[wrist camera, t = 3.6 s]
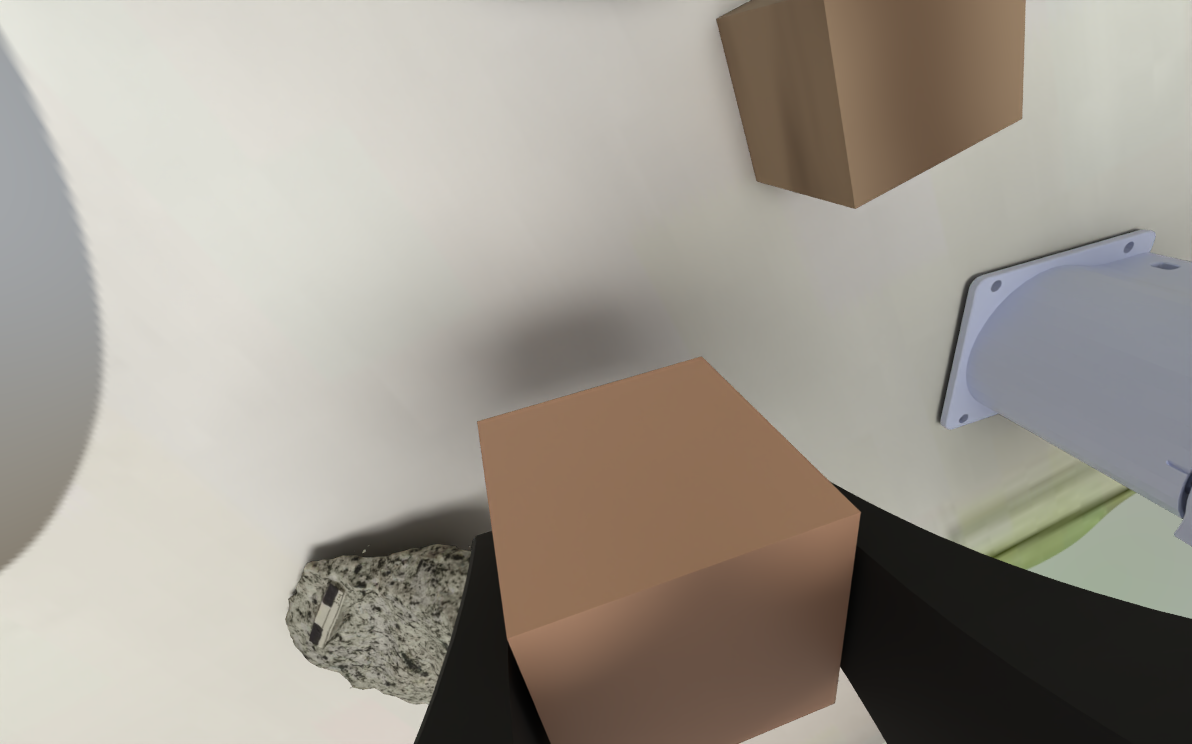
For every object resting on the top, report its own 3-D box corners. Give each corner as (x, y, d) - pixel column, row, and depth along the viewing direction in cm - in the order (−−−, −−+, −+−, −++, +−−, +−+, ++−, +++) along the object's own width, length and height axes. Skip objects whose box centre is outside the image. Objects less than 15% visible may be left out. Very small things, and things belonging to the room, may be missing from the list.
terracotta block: (701, 356, 11) (860, 512, 7) (712, 517, 14) (835, 702, 10) (477, 421, 11) (507, 638, 6) (531, 579, 13) (579, 810, 9)
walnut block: (864, -61, 15) (1029, -120, 11) (883, 112, 18) (1022, 118, 14) (714, 19, 15) (822, -9, 11) (755, 181, 18) (855, 209, 14)
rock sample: (175, 599, 15) (392, 832, 13) (391, 434, 20) (571, 588, 18) (257, 665, 23) (401, 818, 21) (398, 536, 28) (524, 650, 26)
